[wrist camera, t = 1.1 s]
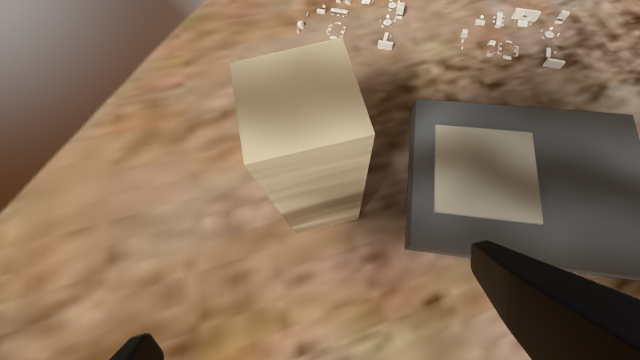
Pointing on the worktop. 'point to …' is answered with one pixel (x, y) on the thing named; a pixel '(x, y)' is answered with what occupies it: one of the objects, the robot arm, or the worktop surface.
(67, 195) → the worktop surface
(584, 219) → the slate plinth
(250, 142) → the birch pillar
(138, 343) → the robot arm
